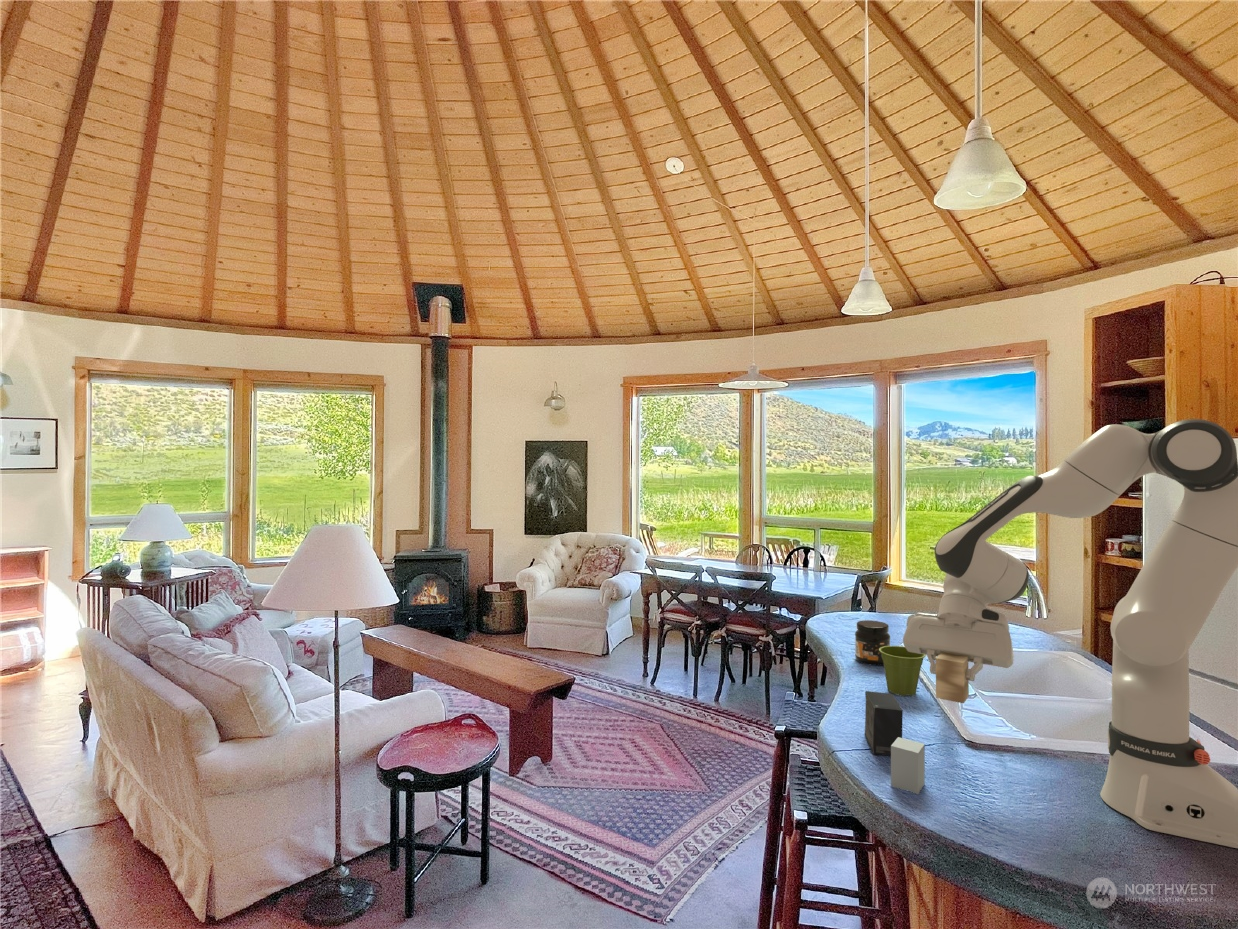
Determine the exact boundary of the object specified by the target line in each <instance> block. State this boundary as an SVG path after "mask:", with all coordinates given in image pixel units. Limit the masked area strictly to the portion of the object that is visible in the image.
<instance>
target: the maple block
mask: <svg viewBox="0 0 1238 929" xmlns="http://www.w3.org/2000/svg"><path fill="white" fill-rule="evenodd" d="M935 663H936V674H935V698H936V699H939V700H945V701H950V702H954V703H959V704H965V703H966V701H967V700H968V698H969V696H970V695H969V694H970V692H969V691H970V690H969V689H970V688H969V684H970V682H969V680H966V678H965V673H966V669H969V662H968V657H967V656H960V655H954V654H948V653H942V652H941V653H940V654H939V655H938V656H936V660H935Z"/></svg>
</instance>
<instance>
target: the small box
mask: <svg viewBox="0 0 1238 929" xmlns="http://www.w3.org/2000/svg"><path fill="white" fill-rule="evenodd" d="M864 694H865V697H864V698H865V712H864V713H865V715H864V716H865V717H864V718H865V719H864V721H865V722H864V737H865V739H866V743H867V744H868V747H869V749H870V751H871V753H872V755H879V756H880V755H881V756H888V757H891V745H892V744H893V743H894V741H895V740H896V739H897V738H898V737H900V738H903V713H904V712H903V708H902V706H901V705H900V704H899V702H898V700H897V698H896V697H895V694H893V693H891V692H889V693H888V692H879V691H869V690H865V693H864Z"/></svg>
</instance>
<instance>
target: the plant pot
mask: <svg viewBox="0 0 1238 929" xmlns="http://www.w3.org/2000/svg"><path fill="white" fill-rule="evenodd" d="M879 651H880V652H881V654H882V660H883V662H884V665H883V668H884V674H885V682H886V688H887V690H888V691H889V693H890V694H893V695H898V696H900V695H901V697H905V696H910V697H912V695H913V696H915V695H916V693H917V690H918V684H919V679H920V675H921V668H922V665H923V662H924V658H926V656H927V655H924V654H918V653H912V652H908V651H907V649H906V648H905V646H903V645H902V646H900V645H890V646H884V647H881V648H879Z"/></svg>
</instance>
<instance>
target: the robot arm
mask: <svg viewBox="0 0 1238 929" xmlns="http://www.w3.org/2000/svg"><path fill="white" fill-rule="evenodd" d="M1237 455H1238V452H1237V446H1236V443H1235V441H1234V438H1233V437H1232V435H1231V434H1230V433H1229V432H1228V430H1227V429H1225V427H1224V426H1223V427H1222V426H1221V425H1220V424H1217V423H1215V422H1212V421H1210V420H1205V419H1201V418H1200V419H1199V418H1189V419H1181V420H1178V421H1176V422H1173V423H1171V424H1169V425H1167V426H1166V427H1164V428H1163V429H1161V430H1159V431H1156V432H1153V433H1144V432H1142V431H1139V430H1138V429H1136V428H1134V427H1131V426H1130V425H1129V426H1128V425H1123V424H1119V423H1118V424H1108V425H1105V426H1103V427H1101V428H1100V429H1098V430H1097V431H1096V432H1094V433H1093V434H1092V435H1090V436H1089V437H1088V438H1087V439H1085V440H1084V441H1082V443H1080V444H1079V445H1078V446H1076V447H1075V448H1074V449H1073V450H1072V451H1071V452H1070V453H1069V454H1068V455H1067V456H1066V457H1065V459H1064V460H1063V461H1061V463H1059V464H1058V465H1057V466H1055V467H1054V468H1052V469H1050V470H1049V471H1046V472H1045V473H1041V474H1038V475H1027V476H1025V477H1022V478H1021V479H1020V480H1018V481H1016V482H1015V483H1013V484H1012V485H1011V486H1009V487H1008V488H1006V489H1005V490H1003V492H1001V493H1000V494H998V495H997V496H996V497H994V499H992V500H990V502H989V503H987V504H986V505H984V506H983V507H982V508H981V509H980V510H978V511H977V512H975V513H974V514H973V515H971V517H969V518H968V519H967V520H966V521H964V522H963V523H961V524H960V525H957V526H956V527H954V528H953V529H951V530H949V531H947V532H946V533H945V534H943V535H942V537H941V538H940V539H938V541H937V542H936V544H935V547H934V558H935V562H936V564H937V566H938V568H939V570H940V571H941V572H943V573H945V577H944V580H943V584H942V585H943V586H942V588H943V595H942V597H941V598H940V601H939V608H938V612H937V614H935V613H934V614H932V613H923V612H915V613H913V614H910V615H909V616H908V617H907V621H906V629H905V631H904V634H903V637H902V643H903V645H904V646H903V647H905V648H906V649H907V651H908V652H912V653H918V654H924V655H926V656H927V659H928V662H929V664H930V666H929V673H930V675H936V662H935V661H936V657H937V656H938V655H939V654H940V653H941V652H942V653H948V654H954V655H960V656H967V657H968V663H973V665H972V667H971V668H968V669H966V673H965V678H966V680H969V681H970V682H975V679H976V675H977V674H978V673H979V672H981V671H982V669H983V668H984V665H986V666H991V667H992V666H993V667H998V668H999V667H1000V668H1005V669H1009V668H1011V667H1012V666H1013V665H1014V650H1013V649H1014V646H1013V641H1012V637H1011V633H1010V625H1009V622H1008V618H1007V616H1006V615H1005V614H1003V613H1002V612H999V611H996V610H994V609H990V608H988V607H987V606H988V605H989V604H991V605H997V604H1003V603H1006V602H1007V603H1008V602H1011V601H1014V600H1016V599H1018V598H1020V597H1022V596H1023V595H1024V593H1025V592H1026V589H1027V587H1028V585H1029V580H1030V579H1029V570H1028V567H1027V565H1026V564H1025V563H1024V562H1022V561H1021V560H1019V559H1017V558H1016V557H1015V556H1013V555H1011V554H1009V553H1008V552H1006V551H1004V550H1002V549H1001V548H998V547H997V546H995V545H994V544H992V543H991V542H989V541H987V540H988V539H989V538H991V537H992V536H993V535H994V534H996V533H997V532H998V531H999V530H1001V529H1002V528H1004V527H1005V526H1006V525H1007V524H1009V523H1010V522H1011V521H1012V520H1014V519H1015V518H1017V517H1019V516H1021V515H1024V514H1025V515H1026V514H1031V513H1032V514H1033V513H1037V514H1038V513H1040V514H1045V515H1051V516H1052V515H1053V516H1058V517H1062V518H1069V519H1082V518H1083V519H1085V518H1086V519H1087V518H1089V517H1094V516H1097V515H1099V514H1101V513H1103V511H1105V510H1107V509H1108V508H1109V507H1110V506H1112V504H1113V503H1114V502H1116V500H1117V499H1118V498H1119V497H1120V496H1121V495H1122V494H1123V493H1125V491H1126V490H1128V488H1129V487H1130V486H1131V485H1132V484H1134V483H1135V482H1136V481H1137V480H1139V479H1140V478H1142V477H1143V476H1145V475H1149V474H1154V473H1155V474H1159V475H1162V476H1165V477H1167V478H1169V479H1171V480H1174V481H1175V482H1177V483H1179V484H1180V485H1182V487H1183V490H1184V495H1183V498H1182V500H1181V503H1180V505H1179V506H1178V509H1177V510H1176V512H1175V513H1174V515H1172V518H1171V519H1170V521H1169V522H1168V523H1167V526H1166V528H1165V529H1164V530H1163V532H1162V534H1161V536H1160V537H1159V538H1158V540H1157V542H1156V543H1155V545H1154V547H1153V548H1152V550H1151V551H1150V553H1149V554H1148V556H1147V558H1146V560H1145V562H1144V563H1143V565H1142V568H1141V569H1140V570H1139V573H1138V574H1137V576H1136V577H1135V579H1134V581H1133V583H1132V584H1131V586H1130V588H1129V590H1128V591H1127V593H1126V595H1125V596H1123V597H1122V598H1121V599H1120V600H1119V601H1118V602H1117V603H1116V605H1115V607H1114V611H1113V614H1112V619H1111V621H1110V635H1111V638H1112V669H1111V672H1112V673H1111V721H1110V722H1109V724H1108V728H1107V749H1108V754H1109V761H1108V766H1107V772H1106V776H1105V779H1104V782H1103V786H1102V788H1101V790H1100V797H1101V799H1102V800H1103V801H1104V802H1105V804H1106V805H1108V806H1109V807H1111V808H1112V809H1113V810H1116V811H1117V812H1118V813H1121V814H1123V815H1124V816H1126V817H1129V818H1131V819H1132V820H1134V822H1136V823H1137V824H1138V825H1140V826H1141V827H1143V828H1145V829H1147V830H1150V831H1154V832H1157V833H1161V834H1162V833H1164V834H1168V835H1172V836H1177V837H1182V838H1185V839H1186V838H1187V839H1191V840H1196V841H1200V842H1205V843H1210V844H1215V845H1220V846H1225V847H1229V848H1235V849H1238V788H1237V787H1236V785H1235V784H1233V783H1232V782H1230V781H1229V780H1228V779H1226V777H1224V776H1222V774H1220V773H1219V772H1217V771H1216V770H1215V769H1214V768H1212V767H1211V766H1209V765H1208V764H1210V763H1211V757H1210V754H1209V753H1208V751H1207V750H1205V747H1204V745H1203V744H1202V743H1201V742H1200V740H1199V739H1194V738H1192V737H1191V736H1190V667H1189V666H1190V665H1189V664H1190V663H1189V662H1190V660H1189V659H1190V658H1189V655H1190V653H1189V649H1190V648H1191V645H1192V644H1193V643H1194V641H1195V640H1196V638H1197V636H1198V634H1199V632H1200V631H1201V630H1202V629H1203V626H1204V624H1205V623H1206V620H1207V619H1208V618H1209V616H1210V614H1211V611H1212V610H1213V608H1214V606H1215V604H1216V603H1217V601H1218V599H1219V597H1220V595H1221V593H1222V591H1223V590H1224V588H1225V587H1226V585H1227V583H1228V582H1229V580H1230V579H1231V578H1232V576H1233V575H1234V573H1235V571H1236V570H1237V569H1238V456H1237Z"/></svg>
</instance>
